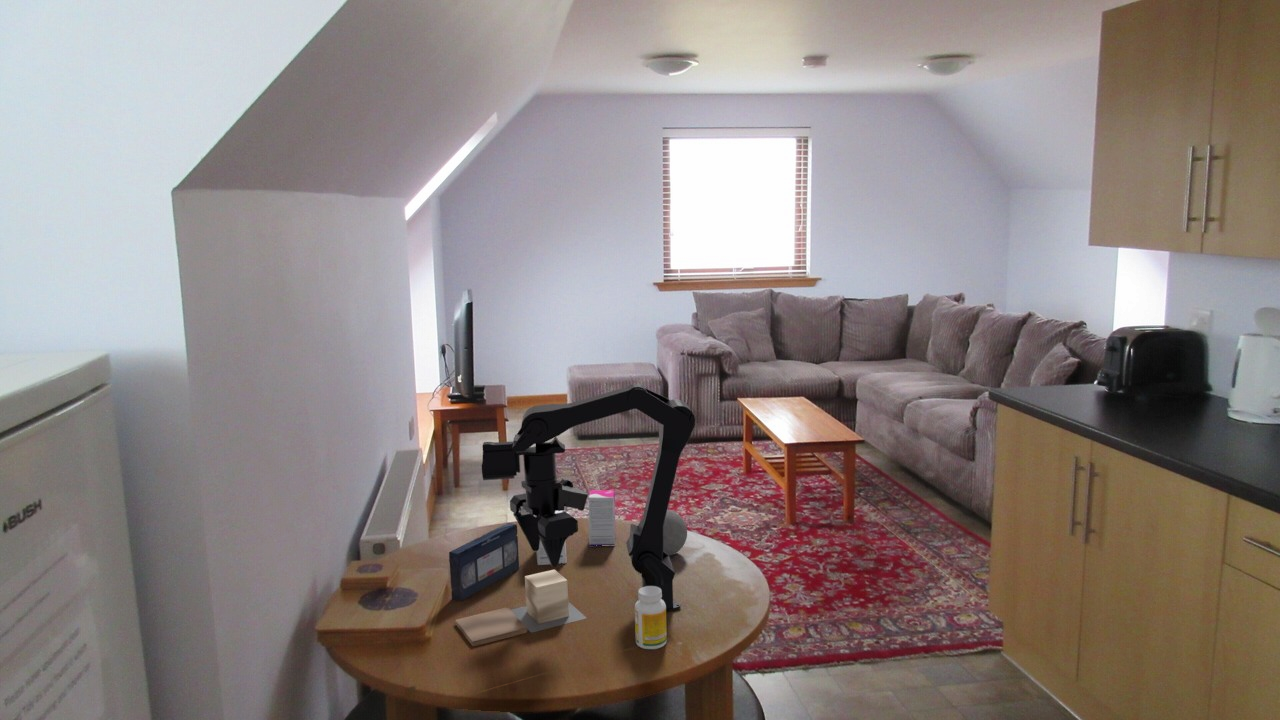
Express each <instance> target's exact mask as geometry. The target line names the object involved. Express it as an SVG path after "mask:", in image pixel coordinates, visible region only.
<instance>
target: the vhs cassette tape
mask: <svg viewBox="0 0 1280 720" xmlns="http://www.w3.org/2000/svg"><path fill="white" fill-rule="evenodd" d="M519 555H520V554H519V537H518V524H517V523H516V524H515V523H512V522H506V524H503V525H500V526H498V527H497V528H494V529H493V530H490V531H489V532H486V533H485V534H482V535H481V536H480V537H477V538H475V539H473V540H472V539H471V541H469V542H466V543H465V544H464V543H463V545H461V546H459V547H456V548H455V549H453V550H451V551H449V552H448V557H449V558H448V559H449V560H448V561H449V573H450V587H451V590H450V591H451V599H452V600H455V601H458V602H462V601H463V600H466V599H467V598H469V597H471V596H473V595H474V594H476V593H479V592H481V591H482V590H484V589H485V588H488V587H490V586H491V585H493V584H495V583H497V582H499V581H501V580H502V579H504V578H506V577H507V576H510V575H511V574H513V573H515V572H517V571H518V570H519V569H520V557H519Z"/></svg>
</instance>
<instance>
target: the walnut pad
mask: <svg viewBox="0 0 1280 720" xmlns="http://www.w3.org/2000/svg"><path fill="white" fill-rule="evenodd" d="M455 625H456V626H457V628H458V630H459V631H460V632H461V633H462V635H463V636H464V638H465V639H466V640H467V641H468V642H469V643H470V645H471V646H472V647H476V646H480V645H485V644H488V643H492V642H496V641H500V640H503V639H508V638H512V637H515V636H519V635H522V634H527V633H528V629H527V627H526V626H525V625H524V624H523V623H522V622H521V621H520V620H519V619H518V618H517V617H516V616H515V615H514V613H513V612H512V611H511V609H510V608H509V607H508V606H507V607H503V608H498V609H494V610H490V611H485V612H482V613H478V614H474V615H469V616H465V617H461V618H457V619H455Z"/></svg>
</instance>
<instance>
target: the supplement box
mask: <svg viewBox="0 0 1280 720" xmlns="http://www.w3.org/2000/svg"><path fill="white" fill-rule="evenodd" d="M615 495H616V490H612V489H611V490H610V489H607V490H605V489H603V490H600V489H599V490H598V489H597V490H594V489H592V490H590V491H589V493H588V532H589V533H588V536H589V537H588V538H589V539H588V540H589V545H588V546H596V545H597V546H602V545H614V546H615V540H616V496H615Z"/></svg>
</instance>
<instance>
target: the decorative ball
mask: <svg viewBox="0 0 1280 720" xmlns="http://www.w3.org/2000/svg"><path fill="white" fill-rule="evenodd" d="M687 528H688V527H687V524H686V522H685V520H684V519H683V517H682V516H681V515H680V514H679V513H677V512H676V511H674V510H671V509H668V508H667V513H666V517H665V521H664V525H663V551H664V552H665V553H666V554H668V555H669V557H670V556H673V555H675V554H676V553H677V554H678V552H679V551H681V549H682V548H683V547H684V546H685V543H687V538H688V529H687Z"/></svg>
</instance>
